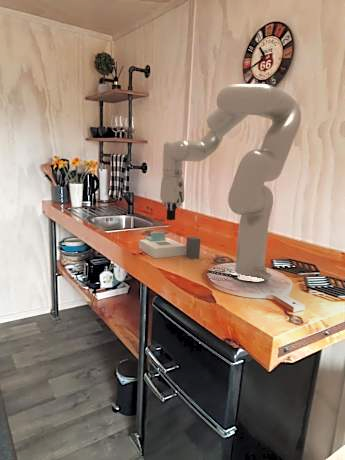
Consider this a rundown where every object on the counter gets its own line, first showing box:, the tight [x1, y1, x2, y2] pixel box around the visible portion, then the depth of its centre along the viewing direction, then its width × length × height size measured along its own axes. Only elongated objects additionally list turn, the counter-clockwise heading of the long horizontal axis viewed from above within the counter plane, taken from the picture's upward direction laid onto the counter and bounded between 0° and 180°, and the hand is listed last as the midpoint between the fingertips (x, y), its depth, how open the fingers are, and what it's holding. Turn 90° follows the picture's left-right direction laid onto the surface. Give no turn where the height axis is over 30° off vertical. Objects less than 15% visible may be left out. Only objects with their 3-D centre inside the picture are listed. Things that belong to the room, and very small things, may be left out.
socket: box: [138, 237, 186, 259], centre depth 137 cm, size 16×14×4 cm
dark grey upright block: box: [185, 236, 201, 260], centre depth 130 cm, size 4×4×8 cm
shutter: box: [144, 231, 166, 241], centre depth 142 cm, size 7×7×4 cm
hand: (170, 219), depth 131 cm, fingers closed
